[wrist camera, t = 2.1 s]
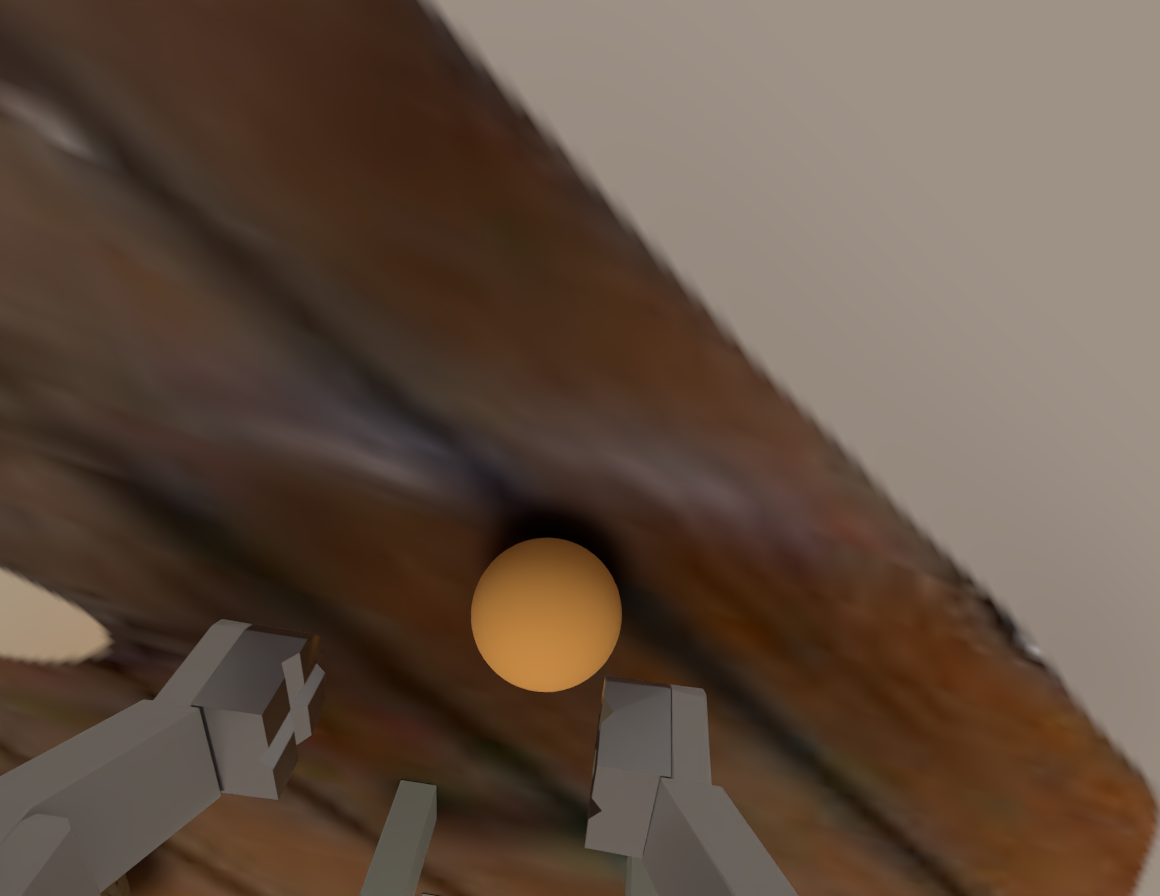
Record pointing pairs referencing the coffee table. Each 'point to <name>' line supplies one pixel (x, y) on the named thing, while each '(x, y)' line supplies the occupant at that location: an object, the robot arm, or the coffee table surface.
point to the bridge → (409, 840)
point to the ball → (546, 614)
